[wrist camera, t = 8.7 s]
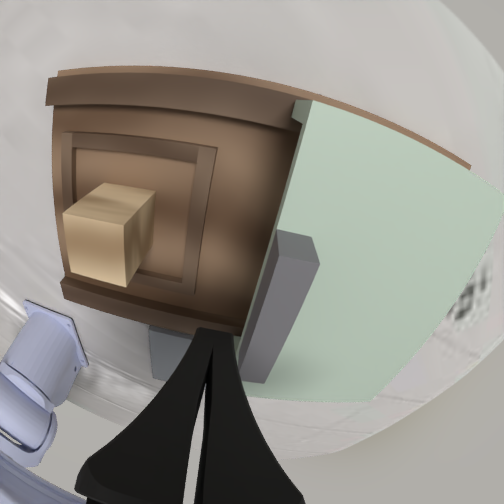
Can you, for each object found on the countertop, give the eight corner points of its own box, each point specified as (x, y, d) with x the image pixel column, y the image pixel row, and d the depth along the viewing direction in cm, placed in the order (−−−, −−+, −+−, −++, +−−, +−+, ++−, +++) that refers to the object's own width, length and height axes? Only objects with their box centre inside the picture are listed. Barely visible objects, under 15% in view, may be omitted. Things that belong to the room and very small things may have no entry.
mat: (228, 389, 30) (228, 393, 29) (154, 374, 29) (153, 378, 28) (243, 344, 25) (243, 349, 25) (150, 325, 24) (148, 329, 24)
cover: (358, 358, 23) (374, 421, 17) (230, 342, 22) (223, 416, 16) (462, 170, 14) (532, 214, 8) (295, 99, 13) (325, 100, 7)
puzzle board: (367, 349, 25) (370, 361, 24) (72, 292, 23) (65, 302, 21) (466, 163, 15) (479, 169, 14) (63, 70, 12) (49, 71, 11)
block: (152, 243, 19) (126, 287, 15) (105, 233, 19) (71, 271, 14) (156, 191, 17) (123, 225, 13) (103, 182, 16) (62, 212, 12)
